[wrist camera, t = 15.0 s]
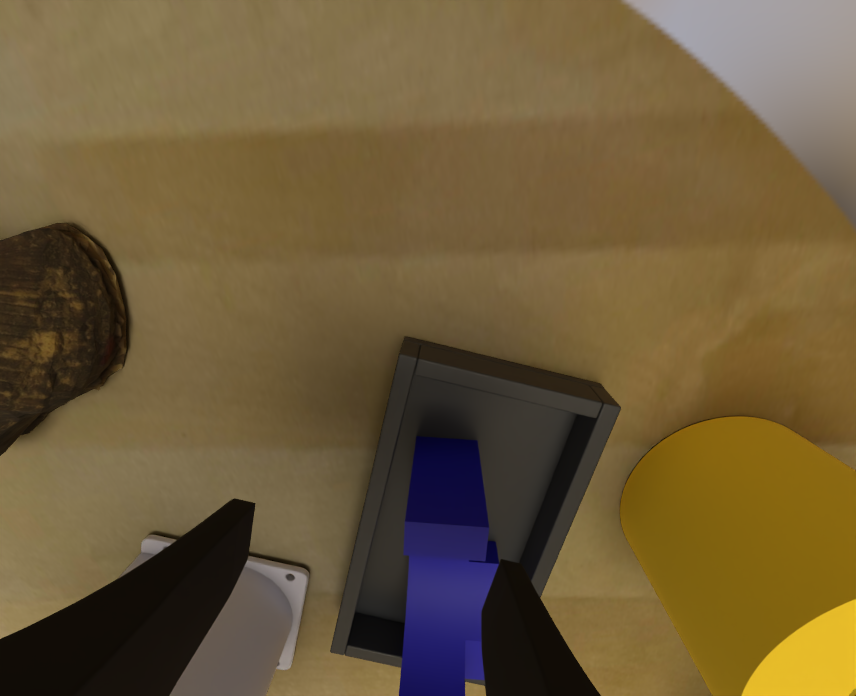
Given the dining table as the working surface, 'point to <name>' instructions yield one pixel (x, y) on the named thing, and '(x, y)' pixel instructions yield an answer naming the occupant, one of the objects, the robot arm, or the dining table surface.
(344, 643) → the holder
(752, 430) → the yellow toilet paper roll
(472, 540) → the blue piece
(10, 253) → the seashell
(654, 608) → the dining table surface
